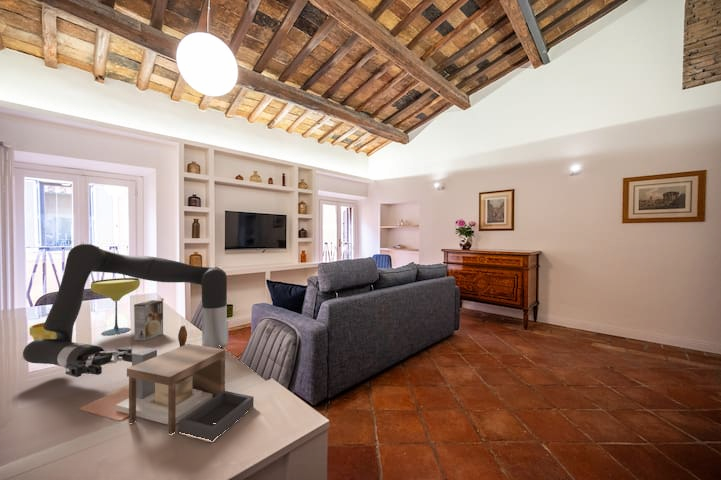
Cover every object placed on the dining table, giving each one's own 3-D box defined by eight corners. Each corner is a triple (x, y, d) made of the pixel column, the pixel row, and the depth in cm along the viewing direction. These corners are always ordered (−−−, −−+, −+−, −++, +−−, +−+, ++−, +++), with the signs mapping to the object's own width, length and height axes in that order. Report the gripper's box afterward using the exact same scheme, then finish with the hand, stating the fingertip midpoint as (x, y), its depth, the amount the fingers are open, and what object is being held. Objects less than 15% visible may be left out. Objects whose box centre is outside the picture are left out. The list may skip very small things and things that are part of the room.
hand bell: (170, 370, 98) (170, 324, 98) (197, 365, 101) (197, 321, 101) (164, 381, 90) (164, 331, 90) (194, 376, 94) (194, 328, 94)
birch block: (175, 393, 80) (176, 372, 80) (192, 396, 78) (192, 375, 78) (154, 405, 74) (154, 382, 74) (172, 409, 72) (172, 386, 72)
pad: (140, 380, 91) (140, 379, 91) (178, 388, 86) (178, 388, 86) (78, 409, 75) (78, 408, 75) (120, 421, 71) (120, 420, 71)
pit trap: (223, 401, 80) (223, 390, 80) (253, 407, 77) (253, 396, 77) (178, 433, 66) (178, 421, 66) (212, 443, 63) (212, 430, 63)
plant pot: (24, 349, 115) (24, 325, 114) (59, 341, 124) (59, 319, 124) (36, 353, 111) (36, 329, 111) (71, 344, 120) (71, 321, 120)
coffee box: (152, 333, 136) (152, 299, 136) (163, 334, 134) (163, 300, 134) (133, 339, 127) (133, 304, 126) (145, 340, 125) (145, 304, 125)
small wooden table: (187, 389, 85) (187, 343, 85) (224, 397, 81) (225, 349, 81) (126, 424, 69) (126, 368, 69) (169, 437, 65) (169, 377, 65)
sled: (160, 387, 85) (160, 343, 85) (212, 399, 79) (212, 351, 79) (115, 410, 74) (115, 359, 74) (172, 425, 68) (173, 370, 68)
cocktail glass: (132, 323, 150) (133, 277, 149) (145, 330, 139) (145, 280, 139) (86, 332, 135) (86, 281, 135) (95, 341, 124) (96, 284, 124)
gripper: (50, 353, 80) (88, 361, 75) (107, 337, 94) (142, 342, 89) (50, 379, 80) (87, 389, 75) (107, 359, 94) (142, 366, 89)
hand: (117, 364), depth 82 cm, fingers open, 8 cm apart
